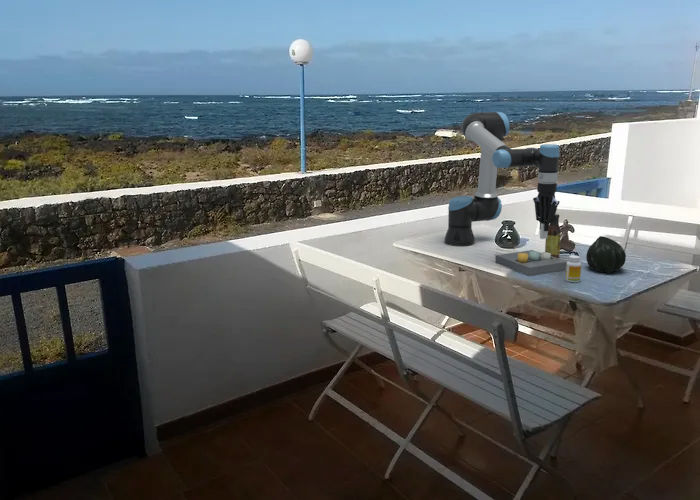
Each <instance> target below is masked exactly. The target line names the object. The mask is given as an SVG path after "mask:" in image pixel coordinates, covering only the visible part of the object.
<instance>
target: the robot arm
mask: <svg viewBox="0 0 700 500" xmlns="http://www.w3.org/2000/svg"><path fill="white" fill-rule="evenodd" d="M460 128H461V129H460V130H461V133H462V135H463V137H465V139H467V140H468V141H470V142H473V143H475V144H476V145H478V146H479V147H480V159H479V169H478V170H479V171H478V172H479V173H478V184H477V191H476V192H474V196H473V197H472V196H470V195H464V196H463V195H462V196H455V197H453V198H451V199H449V202H448V209H447V210H448V219H447V220H448V223H447V224H448V225H447V226H448V227H447V230H446V232H445V237H444V243H445V244H446V243H447V244H446V245H449V244H452V245H451V246H454V245H462V246H461V247H464V246H465V247H466V246H472V245H474V244H475V241H476V240H475V239H476V238H475V236H474V232H473V229H472V223H473V222H482V221H483V222H484V221H485V222H489V221H492V220H493V221H495V220H496V219H497V218H498V217H500V215H501V212H502V208H503V207H502V201H501V199H500V198H499V194H498V193H497V192H496V187H497V176H498V175H497V174H498V169H500V168H501V169H506V168H522V167H527V168H528V167H535V168H536V167H537V168H538V170H537V171H538V172H537V175H538V176H537V182H538V183H537V187H536V189H537V190H536V191H537V196H536V197H533V198H532V200H533V202H534V211H535V219H536V221H537V222H539V230H540V231H539V239H541V240H543V239H545V240H546V238H547V234H548V230H549V224H550V223H552V222H553V221H554V217H555V214H557V209H558V206H559V205H560V201H559V200H557V199H556V192H557V191H558V190H557V189H558V186H557V185H558V184H557V182H558V174H559V173H558V172H559V164H560V163H559V162H560V161H559V160H560V146H559V145H558V144H556V143H555V144H554V143H553V144H548V143H547V144H541V145H540V146H539V148H537V147H526V148H511V147H510V146H508V145H507V144H506V143H504V142H503V141H504V138H505V137H506V136H508V134H509V131H510V121H509V117H508V116H507V115H506V114H505V113H504V112H500V111H488V112H487V111H486V112H485V111H483V112H472V113H470V114H468V115H467V116H466V117H464V119H463V120H462V122H461V127H460Z"/></svg>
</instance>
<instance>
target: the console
mask: <svg viewBox="0 0 700 500" xmlns="http://www.w3.org/2000/svg"><path fill="white" fill-rule="evenodd" d="M530 251H535V250H534V249H529V250H522V251H515V252H508V253H502V254H501V253H500V254H496V255H495V258H494V259H495V261H494V262H495V264H497V265H500V266H502V265H503V267H505V268H508V269H510V270H513V271H516V272H518V273H521V274H522V275H526V276H528V277H531V276H537V275H543V274H549V273H555V272H561V271H566V263H567V262H568V261H569V260H564V259H561V258H560V257H559V258H556V257H552V256H550V259H547V260H544V259H541V258H540V256H541V252H540V254H539V261H534V262H533V261H531V260H529V254H530ZM518 253H527V254H528V262H527V263H520V262H518Z"/></svg>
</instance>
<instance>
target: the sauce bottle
mask: <svg viewBox="0 0 700 500" xmlns="http://www.w3.org/2000/svg"><path fill="white" fill-rule="evenodd" d="M559 219H560V214H559V213H556V214H555V217H554V221H553V222H552V223H549V230H548V234H547V238H545V246H544V247H545V248H544V252H548V253H551V256H552V257H556V258H559V259H560V251H561V237H562V231H561V228H560V223H559V221H560V220H559Z"/></svg>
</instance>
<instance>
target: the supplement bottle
mask: <svg viewBox="0 0 700 500" xmlns="http://www.w3.org/2000/svg"><path fill="white" fill-rule="evenodd" d="M580 260H581V257H580V256H579V255H572V254H571V255H569V256H568V260H567V261H568V262H567V263H566V270H565V276H564V278H565V279H564V280H565V281H566V282H569V283H578V282H581V274H582V273H581V272H582V263H581V262H580Z"/></svg>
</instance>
